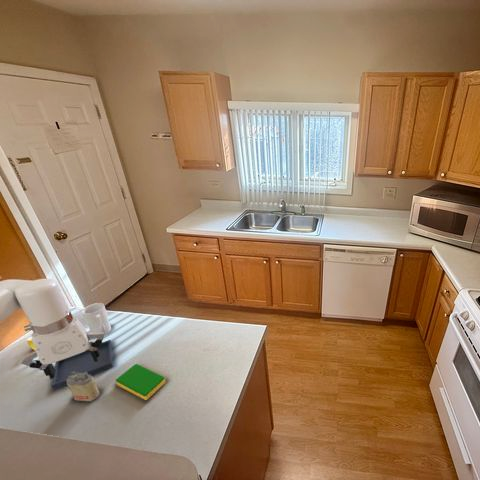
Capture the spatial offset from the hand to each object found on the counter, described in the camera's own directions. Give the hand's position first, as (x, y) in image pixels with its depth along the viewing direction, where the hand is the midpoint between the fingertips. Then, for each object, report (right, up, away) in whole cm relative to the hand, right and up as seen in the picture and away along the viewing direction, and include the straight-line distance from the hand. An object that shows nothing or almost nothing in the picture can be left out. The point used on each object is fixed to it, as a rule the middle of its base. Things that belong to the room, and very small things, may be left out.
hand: (75, 366), depth 76 cm
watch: (-33, -4, +20) cm, 39 cm away
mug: (-16, -1, +29) cm, 33 cm away
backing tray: (-11, -7, +15) cm, 20 cm away
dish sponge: (+13, -11, +10) cm, 20 cm away
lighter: (-1, -12, +5) cm, 13 cm away
